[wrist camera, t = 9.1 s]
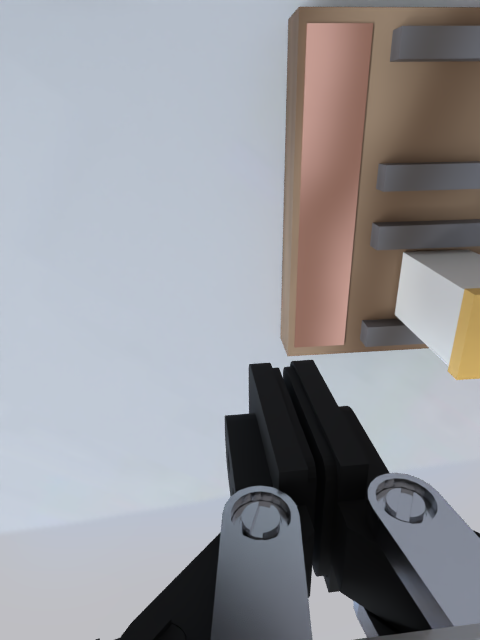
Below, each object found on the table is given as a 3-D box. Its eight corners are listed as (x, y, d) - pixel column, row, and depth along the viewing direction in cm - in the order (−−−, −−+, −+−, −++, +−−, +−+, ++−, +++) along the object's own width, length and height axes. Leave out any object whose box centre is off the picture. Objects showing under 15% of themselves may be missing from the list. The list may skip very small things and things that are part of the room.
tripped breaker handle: (471, 247, 20) (567, 290, 14) (457, 313, 21) (542, 374, 16) (401, 249, 19) (474, 294, 14) (392, 316, 21) (456, 379, 15)
